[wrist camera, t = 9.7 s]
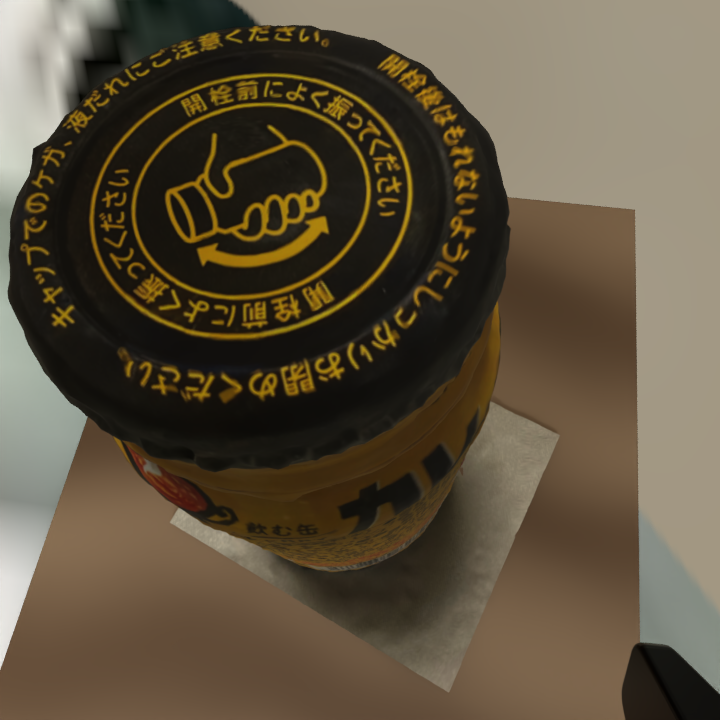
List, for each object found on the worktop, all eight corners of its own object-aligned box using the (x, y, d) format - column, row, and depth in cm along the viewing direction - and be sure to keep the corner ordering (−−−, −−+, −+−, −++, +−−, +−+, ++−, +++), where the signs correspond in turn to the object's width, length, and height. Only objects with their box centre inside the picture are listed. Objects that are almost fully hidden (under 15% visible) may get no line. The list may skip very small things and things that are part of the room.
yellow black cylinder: (304, 315, 19) (174, -102, 8) (558, 437, 17) (880, 119, 6) (172, 523, 16) (-289, 365, 5) (447, 691, 15) (623, 985, 3)
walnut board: (618, 963, 14) (643, 1005, 12) (-17, 815, 15) (-58, 836, 14) (618, 235, 21) (634, 209, 19) (188, 191, 23) (175, 164, 21)
